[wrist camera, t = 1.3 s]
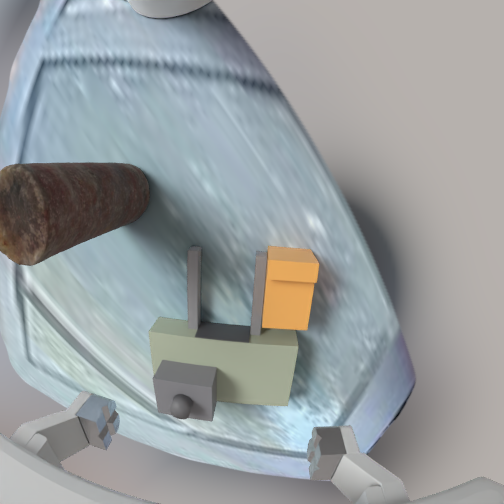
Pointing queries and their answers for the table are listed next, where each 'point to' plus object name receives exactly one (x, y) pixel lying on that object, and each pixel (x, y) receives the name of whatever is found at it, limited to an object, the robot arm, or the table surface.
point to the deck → (220, 355)
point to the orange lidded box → (288, 288)
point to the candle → (65, 205)
